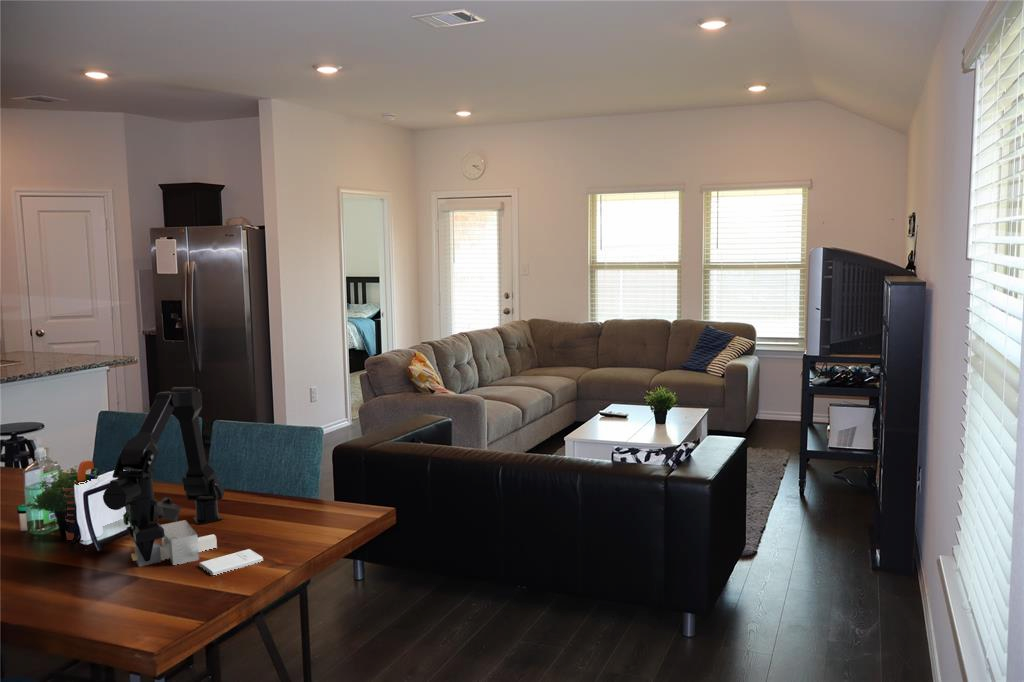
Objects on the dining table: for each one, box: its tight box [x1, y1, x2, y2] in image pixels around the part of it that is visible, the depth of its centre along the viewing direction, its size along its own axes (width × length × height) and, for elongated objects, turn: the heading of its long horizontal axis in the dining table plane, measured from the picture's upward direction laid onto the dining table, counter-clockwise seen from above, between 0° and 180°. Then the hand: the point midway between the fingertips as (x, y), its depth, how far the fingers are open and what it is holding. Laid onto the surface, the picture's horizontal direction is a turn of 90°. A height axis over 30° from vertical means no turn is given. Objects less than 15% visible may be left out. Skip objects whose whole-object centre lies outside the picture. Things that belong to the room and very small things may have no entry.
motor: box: [61, 460, 99, 541], centre depth 217 cm, size 10×9×20 cm
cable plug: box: [131, 534, 218, 568], centre depth 201 cm, size 20×4×4 cm, turn 124°
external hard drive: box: [198, 548, 264, 576], centre depth 196 cm, size 2×8×12 cm
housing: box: [160, 519, 200, 566], centre depth 202 cm, size 13×6×6 cm, turn 34°
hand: (145, 558), depth 198 cm, fingers closed on cable plug, 4 cm apart
